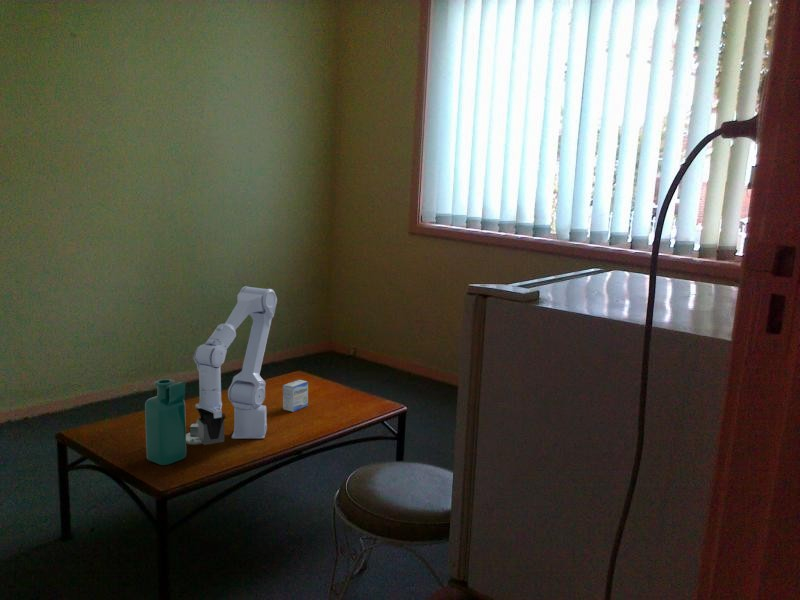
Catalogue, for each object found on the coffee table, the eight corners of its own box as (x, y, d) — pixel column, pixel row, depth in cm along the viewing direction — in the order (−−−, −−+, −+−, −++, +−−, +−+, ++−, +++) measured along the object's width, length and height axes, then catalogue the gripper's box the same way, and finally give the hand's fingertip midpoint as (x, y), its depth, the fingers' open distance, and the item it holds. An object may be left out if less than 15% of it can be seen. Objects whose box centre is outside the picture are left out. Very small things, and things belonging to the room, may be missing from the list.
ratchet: (194, 424, 219) (194, 409, 218) (214, 424, 220) (214, 409, 219) (183, 445, 203) (182, 429, 202) (204, 444, 203) (204, 428, 202)
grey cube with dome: (218, 434, 201) (218, 415, 200) (224, 441, 196) (223, 421, 195) (198, 438, 198) (198, 418, 197) (203, 444, 193) (203, 424, 192)
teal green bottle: (143, 459, 192) (140, 380, 188) (169, 449, 199) (167, 374, 195) (167, 468, 186) (164, 388, 183) (192, 458, 193) (191, 380, 189)
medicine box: (293, 412, 232) (293, 387, 231) (282, 409, 235) (282, 384, 233) (308, 406, 239) (308, 381, 237) (298, 403, 241) (298, 379, 240)
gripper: (188, 382, 198) (190, 428, 201) (202, 397, 186) (203, 446, 189) (214, 379, 202) (215, 424, 204) (229, 393, 190) (229, 441, 192)
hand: (211, 434), depth 197 cm, fingers closed on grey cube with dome, 6 cm apart
